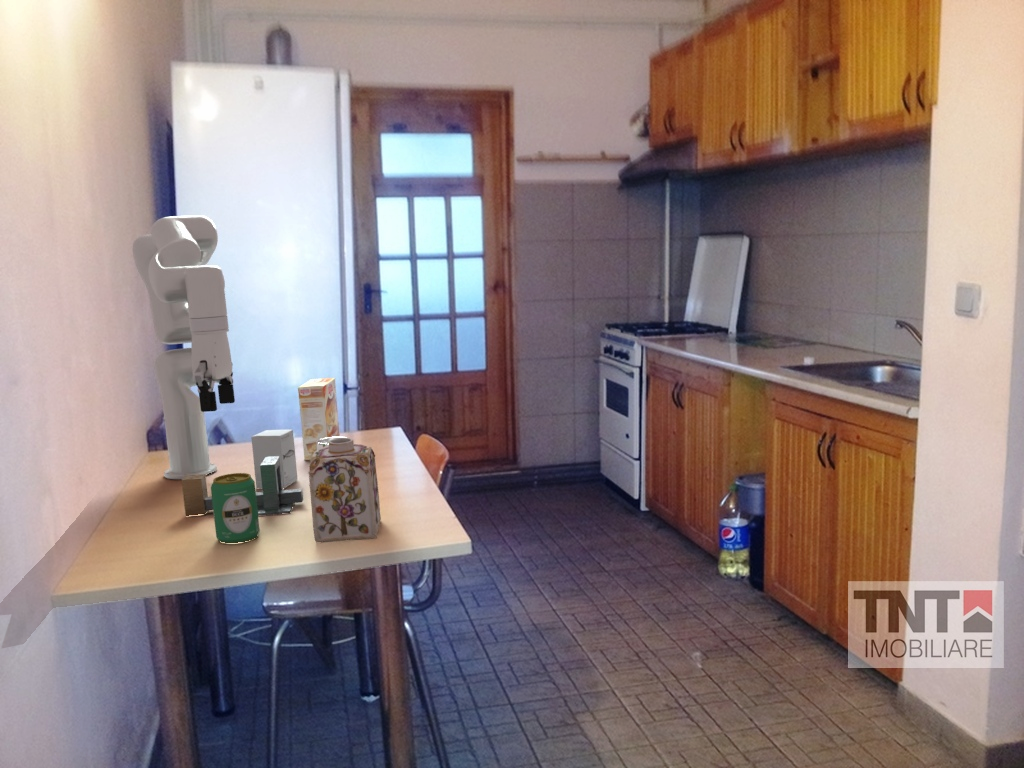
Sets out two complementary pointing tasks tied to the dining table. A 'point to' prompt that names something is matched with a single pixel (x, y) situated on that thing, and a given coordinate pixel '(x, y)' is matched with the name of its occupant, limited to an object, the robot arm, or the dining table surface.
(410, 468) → the dining table surface
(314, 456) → the decorative jar
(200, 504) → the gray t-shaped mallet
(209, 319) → the robot arm
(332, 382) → the coffeecake box
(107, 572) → the dining table surface
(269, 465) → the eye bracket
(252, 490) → the beverage can
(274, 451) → the supplement box
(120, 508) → the dining table surface
